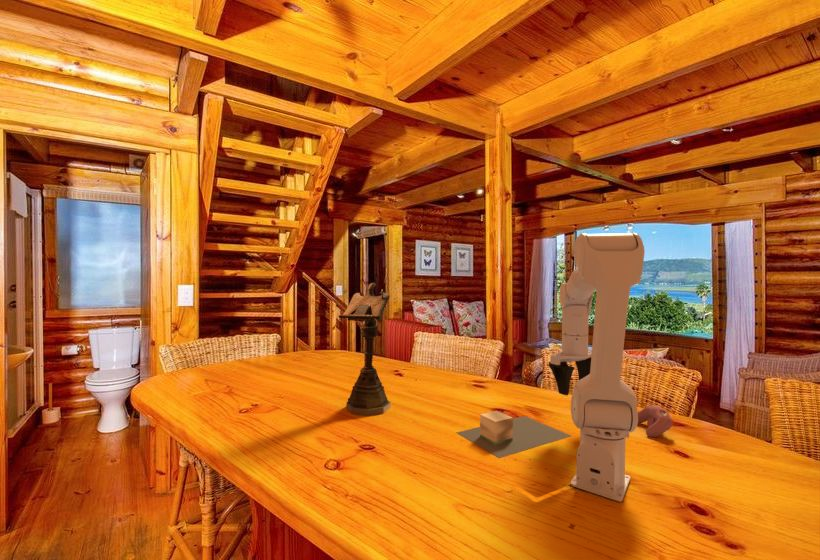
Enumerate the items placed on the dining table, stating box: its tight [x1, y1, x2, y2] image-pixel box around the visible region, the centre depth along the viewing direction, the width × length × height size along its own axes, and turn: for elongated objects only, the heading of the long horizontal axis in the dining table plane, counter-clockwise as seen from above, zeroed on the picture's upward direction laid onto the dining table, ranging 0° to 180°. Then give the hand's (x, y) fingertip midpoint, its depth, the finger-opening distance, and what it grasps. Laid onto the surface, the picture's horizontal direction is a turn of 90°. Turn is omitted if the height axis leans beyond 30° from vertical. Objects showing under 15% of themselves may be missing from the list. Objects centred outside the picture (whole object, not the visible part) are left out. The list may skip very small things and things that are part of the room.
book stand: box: [336, 282, 391, 417], centre depth 102 cm, size 17×13×35 cm
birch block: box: [479, 410, 514, 445], centre depth 84 cm, size 5×5×5 cm
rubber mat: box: [455, 415, 572, 459], centre depth 87 cm, size 22×14×1 cm, turn 120°
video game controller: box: [637, 403, 674, 438], centre depth 91 cm, size 10×5×7 cm, turn 169°
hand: (574, 391), depth 90 cm, fingers open, 7 cm apart
